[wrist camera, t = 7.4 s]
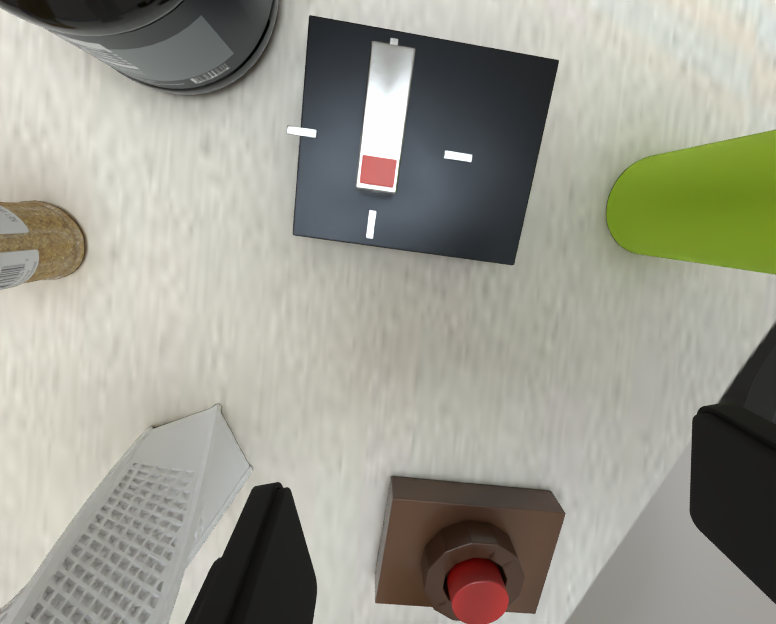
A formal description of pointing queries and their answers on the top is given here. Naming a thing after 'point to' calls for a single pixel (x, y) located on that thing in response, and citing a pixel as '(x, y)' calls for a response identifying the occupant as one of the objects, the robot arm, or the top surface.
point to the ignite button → (477, 591)
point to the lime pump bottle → (701, 204)
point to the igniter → (464, 540)
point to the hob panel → (422, 144)
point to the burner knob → (384, 119)
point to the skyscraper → (138, 529)
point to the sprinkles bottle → (37, 243)
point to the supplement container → (161, 37)
